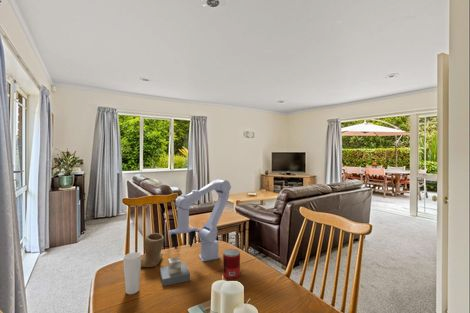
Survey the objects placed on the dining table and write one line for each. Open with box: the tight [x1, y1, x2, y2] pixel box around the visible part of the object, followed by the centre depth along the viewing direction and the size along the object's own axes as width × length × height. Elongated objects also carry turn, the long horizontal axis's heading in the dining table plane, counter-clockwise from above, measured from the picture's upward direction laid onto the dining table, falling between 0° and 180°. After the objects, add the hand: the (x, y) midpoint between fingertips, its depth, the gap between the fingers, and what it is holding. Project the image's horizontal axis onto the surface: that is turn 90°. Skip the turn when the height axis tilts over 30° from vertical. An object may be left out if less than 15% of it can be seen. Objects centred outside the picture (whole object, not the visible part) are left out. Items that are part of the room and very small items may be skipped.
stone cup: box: [141, 232, 165, 268], centre depth 126 cm, size 15×12×15 cm
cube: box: [167, 256, 182, 274], centre depth 111 cm, size 5×5×5 cm
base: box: [159, 262, 191, 287], centre depth 111 cm, size 12×12×3 cm
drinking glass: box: [123, 251, 142, 295], centre depth 99 cm, size 7×7×15 cm
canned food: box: [222, 248, 241, 280], centre depth 112 cm, size 8×8×11 cm
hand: (183, 247), depth 122 cm, fingers open, 7 cm apart
